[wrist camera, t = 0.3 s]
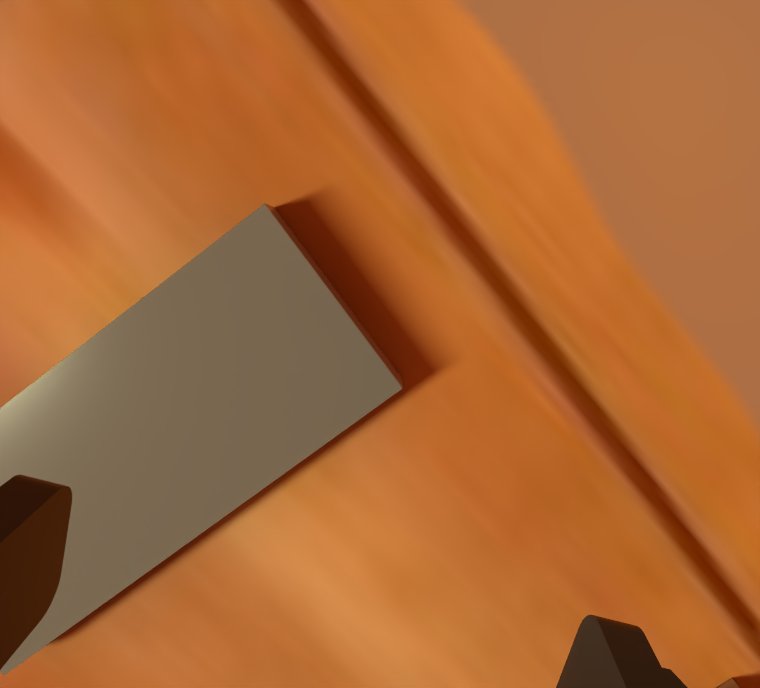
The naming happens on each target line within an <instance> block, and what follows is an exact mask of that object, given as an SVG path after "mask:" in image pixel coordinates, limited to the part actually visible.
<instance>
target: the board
mask: <svg viewBox="0 0 760 688" xmlns="http://www.w3.org/2000/svg"><path fill="white" fill-rule="evenodd" d="M402 388H403V382H402V378H401V376H400V375H399V374H398V372H397V371H396V370H395V368H394V367H393V366H392V364H391V363H390V362H389V360H388V359H387V358H386V356H385V355H384V353H383V352H382V351H381V349H380V348H379V347H378V345H377V344H376V343H375V341H374V340H373V339H372V337H371V336H370V335H369V333H368V332H367V331H366V329H365V328H364V327H363V325H362V324H361V323H360V321H359V320H358V319H357V317H356V316H355V315H354V313H353V312H352V311H351V309H350V308H349V307H348V305H347V304H346V303H345V301H344V300H343V299H342V297H341V296H340V295H339V293H338V292H337V291H336V289H335V288H334V287H333V285H332V284H331V283H330V281H329V280H328V279H327V277H326V276H325V275H324V273H323V272H322V270H321V269H320V268H319V266H318V265H317V264H316V262H315V261H314V260H313V258H312V257H311V256H310V254H309V253H308V252H307V250H306V249H305V248H304V246H303V245H302V244H301V242H300V241H299V240H298V238H297V237H296V236H295V234H294V233H293V232H292V230H291V229H290V228H289V226H288V225H287V224H286V222H285V221H284V220H283V218H282V217H281V216H280V214H279V213H278V212H277V210H276V209H275V208H274V207H272V206H270V205H267V204H263V205H262V206H261V207H260V208H258V209H257V210H256V211H254V212H253V213H252V214H250V215H249V216H248V217H247V218H245V219H244V220H243V221H241V222H240V223H239V224H238V225H236V226H235V227H234V228H232V229H231V230H230V231H229V232H227V233H226V234H225V235H223V236H222V237H221V238H220V239H218V240H217V241H216V242H214V243H213V244H212V245H210V246H209V247H208V248H207V249H205V250H204V251H203V252H201V253H200V254H199V255H198V256H196V257H195V258H194V259H192V260H191V261H190V262H189V263H187V264H186V265H185V266H183V267H182V268H181V269H179V270H178V271H177V272H176V273H174V274H173V275H172V276H170V277H169V278H168V279H167V280H165V281H164V282H163V283H161V284H160V285H159V286H158V287H156V288H155V289H154V290H152V291H151V292H150V293H148V294H147V295H146V296H145V297H143V298H142V299H141V300H139V301H138V302H137V303H136V304H134V305H133V306H132V307H130V308H129V309H128V310H127V311H125V312H124V313H123V314H121V315H120V316H119V317H117V318H116V319H115V320H114V321H112V322H111V323H110V324H108V325H107V326H106V327H105V328H103V329H102V330H101V331H99V332H98V333H97V334H96V335H94V336H93V337H92V338H90V339H89V340H88V341H87V342H85V343H84V344H83V345H81V346H80V347H79V348H77V349H76V350H75V351H74V352H72V353H71V354H70V355H68V356H67V357H66V358H65V359H63V360H62V361H61V362H59V363H58V364H57V365H56V366H54V367H53V368H52V369H50V370H49V371H48V372H46V373H45V374H44V375H43V376H41V377H40V378H39V379H37V380H36V381H35V382H34V383H32V384H31V385H30V386H28V387H27V388H26V389H25V390H23V391H22V392H21V393H19V394H18V395H17V396H15V397H14V398H13V399H12V400H10V401H9V402H8V403H6V404H5V405H4V406H3V407H1V408H0V486H2V485H3V484H4V483H6V482H7V481H8V480H10V479H11V478H12V477H14V476H16V475H25V476H29V477H33V478H37V479H41V480H45V481H49V482H53V483H57V484H61V485H65V486H68V487H70V488H71V491H72V506H71V512H70V519H69V526H68V532H67V539H66V546H65V552H64V559H63V565H62V572H61V577H60V582H59V585H58V588H57V591H56V594H55V596H54V598H53V601H52V603H51V605H50V607H49V609H48V610H47V612H46V614H45V615H44V617H43V618H42V620H41V621H40V622H39V623H38V625H37V626H36V627H35V628H34V630H33V631H32V632H31V633H30V634H29V636H28V637H27V638H26V639H25V640H24V642H23V643H22V644H21V645H20V647H19V648H18V649H17V650H16V651H15V653H14V654H13V655H12V656H11V657H10V659H9V660H8V661H7V662H6V664H5V665H4V666H3V667H2V668H1V670H0V672H1V673H2V674H3V675H5V674H7V673H8V672H10V671H11V670H12V669H14V668H15V667H17V666H18V665H19V664H21V663H22V662H23V661H25V660H26V659H28V658H29V657H30V656H32V655H33V654H35V653H36V652H37V651H39V650H40V649H42V648H43V647H44V646H46V645H47V644H48V643H50V642H51V641H53V640H54V639H55V638H57V637H58V636H60V635H61V634H62V633H64V632H65V631H67V630H68V629H69V628H71V627H72V626H73V625H75V624H76V623H78V622H79V621H80V620H82V619H83V618H85V617H86V616H87V615H89V614H90V613H92V612H93V611H94V610H96V609H97V608H98V607H100V606H101V605H103V604H104V603H105V602H107V601H108V600H110V599H111V598H112V597H114V596H115V595H116V594H118V593H119V592H121V591H122V590H123V589H125V588H126V587H128V586H129V585H130V584H132V583H133V582H135V581H136V580H137V579H139V578H140V577H141V576H143V575H144V574H146V573H147V572H148V571H150V570H151V569H153V568H154V567H155V566H157V565H158V564H160V563H161V562H162V561H164V560H165V559H166V558H168V557H169V556H171V555H172V554H173V553H175V552H176V551H178V550H179V549H180V548H182V547H183V546H185V545H186V544H187V543H189V542H190V541H191V540H193V539H194V538H196V537H197V536H198V535H200V534H201V533H203V532H204V531H205V530H207V529H208V528H210V527H211V526H212V525H214V524H215V523H216V522H218V521H219V520H221V519H222V518H223V517H225V516H226V515H228V514H229V513H230V512H232V511H233V510H234V509H236V508H237V507H239V506H240V505H241V504H243V503H244V502H246V501H247V500H248V499H250V498H251V497H253V496H254V495H255V494H257V493H258V492H259V491H261V490H262V489H264V488H265V487H266V486H268V485H269V484H271V483H272V482H273V481H275V480H276V479H278V478H279V477H280V476H282V475H283V474H284V473H286V472H287V471H289V470H290V469H291V468H293V467H294V466H296V465H297V464H298V463H300V462H301V461H303V460H304V459H305V458H307V457H308V456H309V455H311V454H312V453H314V452H315V451H316V450H318V449H319V448H321V447H322V446H323V445H325V444H326V443H328V442H329V441H330V440H332V439H333V438H334V437H336V436H337V435H339V434H340V433H341V432H343V431H344V430H346V429H347V428H348V427H350V426H351V425H353V424H354V423H355V422H357V421H358V420H359V419H361V418H362V417H364V416H365V415H366V414H368V413H369V412H371V411H372V410H373V409H375V408H376V407H377V406H379V405H380V404H382V403H383V402H384V401H386V400H387V399H389V398H390V397H391V396H393V395H394V394H396V393H397V392H398V391H400V390H401V389H402Z"/></svg>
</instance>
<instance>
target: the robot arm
mask: <svg viewBox="0 0 760 688" xmlns="http://www.w3.org/2000/svg"><path fill="white" fill-rule="evenodd" d="M71 506H72V491H71V488H70V487H68V486H65V485H61V484H57V483H53V482H49V481H45V480H41V479H37V478H33V477H29V476H25V475H16V476H14V477H12V478H11V479H10V480H8V481H7V482H6V483H4V484H3V485H2V486H0V670H1V668H2V667H3V666H4V665H5V664H6V662H7V661H8V660H9V659H10V657H11V656H12V655H13V654H14V653H15V651H16V650H17V649H18V648H19V647H20V645H21V644H22V643H23V642H24V640H25V639H26V638H27V637H28V636H29V634H30V633H31V632H32V631H33V630H34V628H35V627H36V626H37V625H38V623H39V622H40V621H41V620H42V618H43V617H44V615H45V614H46V612H47V610H48V609H49V607H50V605H51V603H52V601H53V598H54V596H55V594H56V591H57V588H58V585H59V582H60V577H61V572H62V565H63V559H64V552H65V546H66V539H67V532H68V526H69V519H70V512H71ZM556 688H687V687H686V686H685V685H684V684H683V682H682V681H681V680H680V679H679V678H678V677H677V676H676V675H675V674H674V673H673V672H672V671H671V670H670V669H666V668H662V667H661V665H660V663H659V661H658V660H657V658H656V656H655V654H654V652H653V650H652V648H651V646H650V644H649V642H648V640H647V638H646V636H645V634H644V633H643V631H642V630H641V629H640V628H639V627H638V626H634V625H630V624H626V623H622V622H618V621H614V620H610V619H606V618H602V617H598V616H594V615H588V616H586V617H585V618H584V619H583V621H582V623H581V624H580V627H579V629H578V632H577V634H576V637H575V640H574V642H573V645H572V647H571V650H570V653H569V655H568V658H567V661H566V663H565V666H564V668H563V671H562V674H561V676H560V679H559V682H558V684H557V687H556Z"/></svg>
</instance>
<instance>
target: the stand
mask: <svg viewBox="0 0 760 688" xmlns="http://www.w3.org/2000/svg"><path fill="white" fill-rule="evenodd" d="M717 688H739V686H738V685H737V684H736V683H735V681H734V680H733V679H732V678H731V679H730V680H728V681H727V682H725V683H723V684H722V685H720V686H719V687H717Z"/></svg>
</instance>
